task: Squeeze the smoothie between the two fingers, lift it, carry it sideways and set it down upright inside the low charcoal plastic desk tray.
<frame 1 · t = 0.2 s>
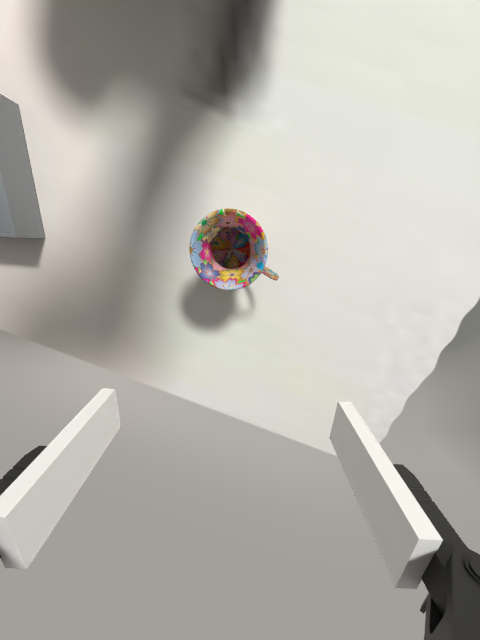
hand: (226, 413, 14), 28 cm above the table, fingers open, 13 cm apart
mug: (239, 252, 38), on the table
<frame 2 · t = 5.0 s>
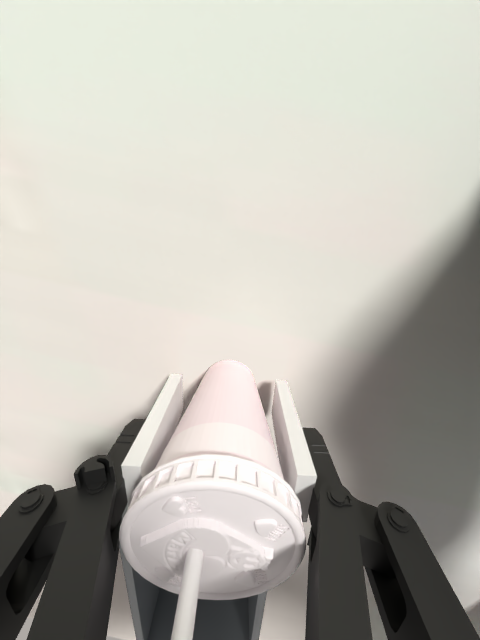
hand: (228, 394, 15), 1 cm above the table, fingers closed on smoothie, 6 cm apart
tray: (206, 524, 22), on the table
smoothie: (229, 380, 17), on the table, touching gripper
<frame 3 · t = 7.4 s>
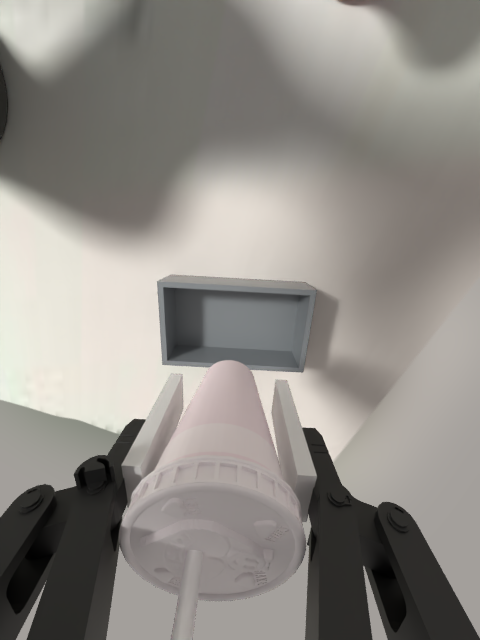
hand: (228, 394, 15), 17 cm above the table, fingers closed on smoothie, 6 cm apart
tray: (236, 316, 31), on the table
smoothie: (229, 380, 17), point 15 cm above the table, touching gripper
when the fingers open (4 cm above the table, at t = 9.9 s): smoothie drops 2 cm, resting on tray.
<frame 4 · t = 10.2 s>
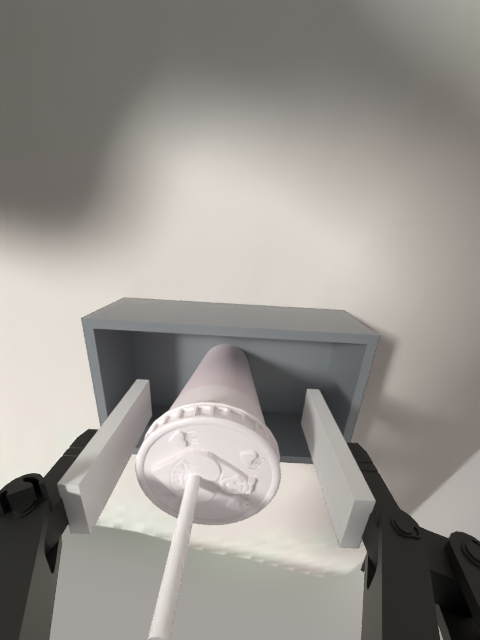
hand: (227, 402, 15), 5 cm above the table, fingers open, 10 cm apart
tray: (231, 361, 20), on the table
smoothie: (226, 363, 19), resting on tray
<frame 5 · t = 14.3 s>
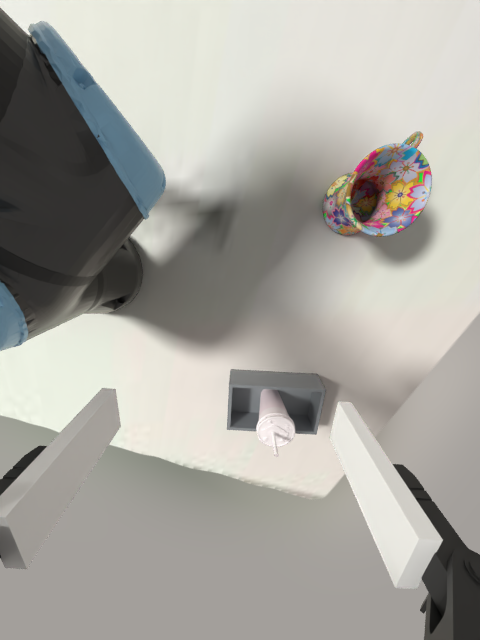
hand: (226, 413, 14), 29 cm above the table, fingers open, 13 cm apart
tray: (271, 393, 47), on the table
mug: (353, 197, 36), on the table
smoothie: (269, 394, 47), resting on tray
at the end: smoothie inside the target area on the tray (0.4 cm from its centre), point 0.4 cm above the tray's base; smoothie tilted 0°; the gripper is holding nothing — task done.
